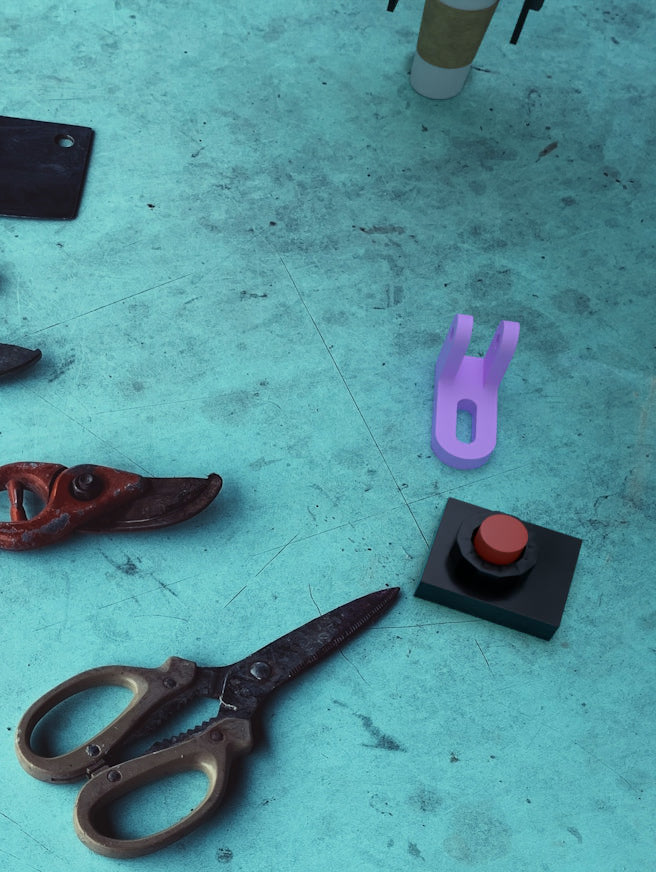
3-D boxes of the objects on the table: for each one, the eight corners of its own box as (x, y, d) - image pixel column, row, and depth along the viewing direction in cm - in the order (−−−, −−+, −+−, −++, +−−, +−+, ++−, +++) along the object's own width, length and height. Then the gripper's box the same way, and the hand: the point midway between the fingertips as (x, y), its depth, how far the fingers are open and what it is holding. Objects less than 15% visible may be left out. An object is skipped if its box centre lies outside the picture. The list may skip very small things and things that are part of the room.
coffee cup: (473, 65, 137) (522, -80, 123) (472, 111, 133) (522, -33, 120) (400, 55, 137) (440, -90, 124) (396, 101, 133) (437, -43, 120)
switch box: (573, 555, 106) (592, 525, 102) (549, 642, 102) (568, 614, 98) (441, 512, 108) (455, 482, 104) (412, 596, 104) (426, 567, 100)
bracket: (435, 363, 116) (458, 304, 110) (493, 371, 116) (519, 313, 109) (429, 464, 110) (453, 409, 104) (490, 473, 110) (518, 418, 104)
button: (525, 536, 102) (532, 523, 101) (514, 571, 101) (522, 558, 99) (479, 521, 103) (486, 508, 101) (468, 556, 101) (475, 542, 100)
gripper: (670, -204, 110) (574, 31, 129) (407, -264, 113) (352, -28, 132) (655, -163, 107) (560, 71, 126) (386, -226, 110) (333, 10, 129)
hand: (453, 21), depth 129 cm, fingers open, 13 cm apart
